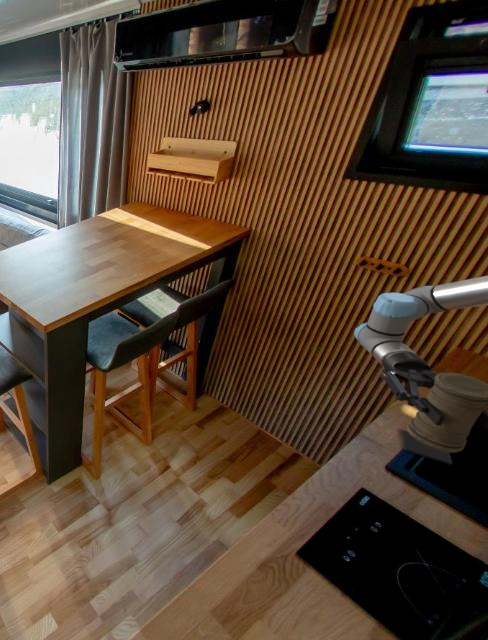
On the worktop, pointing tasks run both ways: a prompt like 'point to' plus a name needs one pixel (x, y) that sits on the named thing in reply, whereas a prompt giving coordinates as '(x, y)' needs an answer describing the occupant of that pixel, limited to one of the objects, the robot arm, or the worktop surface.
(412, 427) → the container
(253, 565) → the worktop surface
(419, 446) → the base pad
